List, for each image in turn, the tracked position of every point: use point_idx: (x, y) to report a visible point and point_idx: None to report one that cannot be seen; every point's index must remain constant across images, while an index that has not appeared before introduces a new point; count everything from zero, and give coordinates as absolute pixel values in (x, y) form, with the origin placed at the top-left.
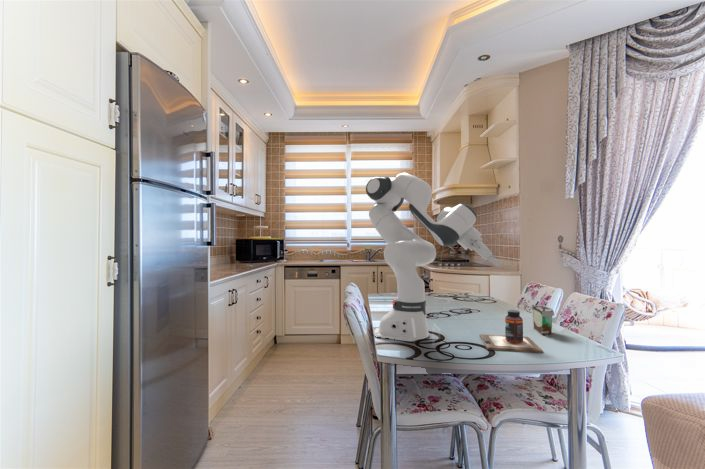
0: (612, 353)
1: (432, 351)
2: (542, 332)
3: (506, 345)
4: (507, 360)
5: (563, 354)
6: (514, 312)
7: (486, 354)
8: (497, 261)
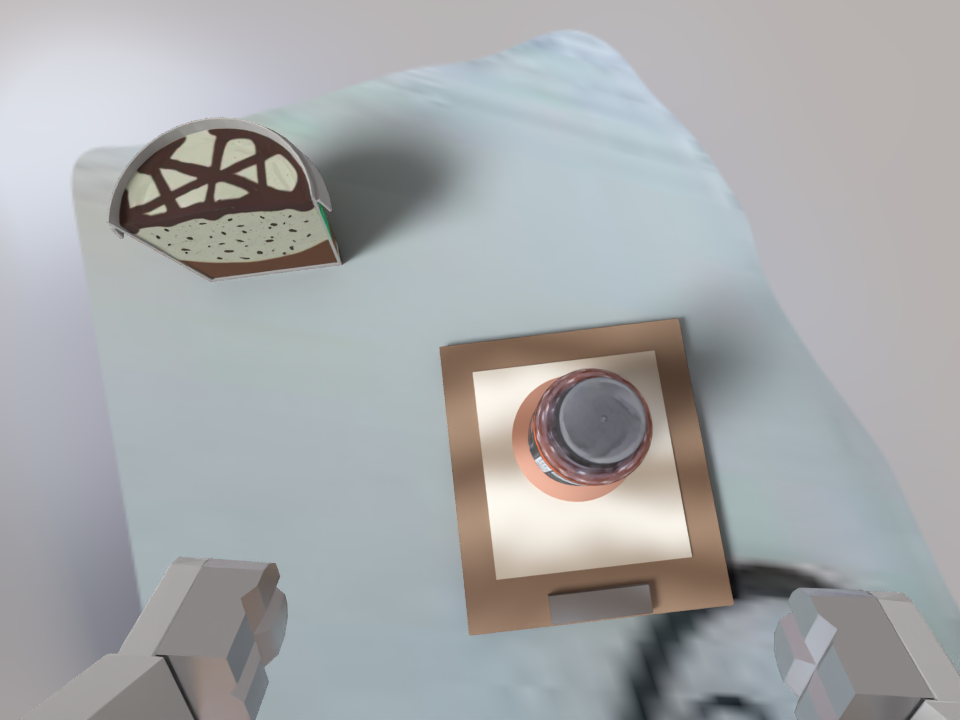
0: (567, 40)
1: None
2: (338, 255)
3: (666, 492)
4: (865, 512)
5: (661, 236)
6: (646, 419)
7: None
8: (949, 670)
